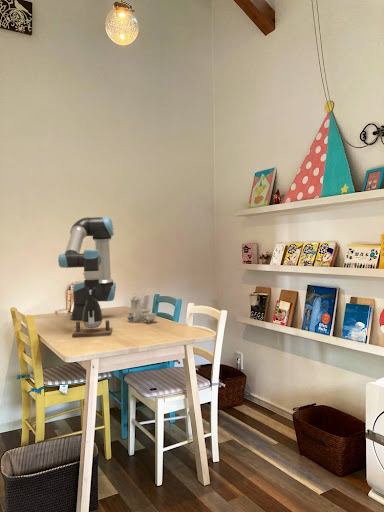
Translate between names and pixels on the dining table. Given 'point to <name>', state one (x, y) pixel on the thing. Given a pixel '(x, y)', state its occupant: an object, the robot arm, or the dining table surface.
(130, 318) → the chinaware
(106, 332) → the holder
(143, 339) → the dining table surface
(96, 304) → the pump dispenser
